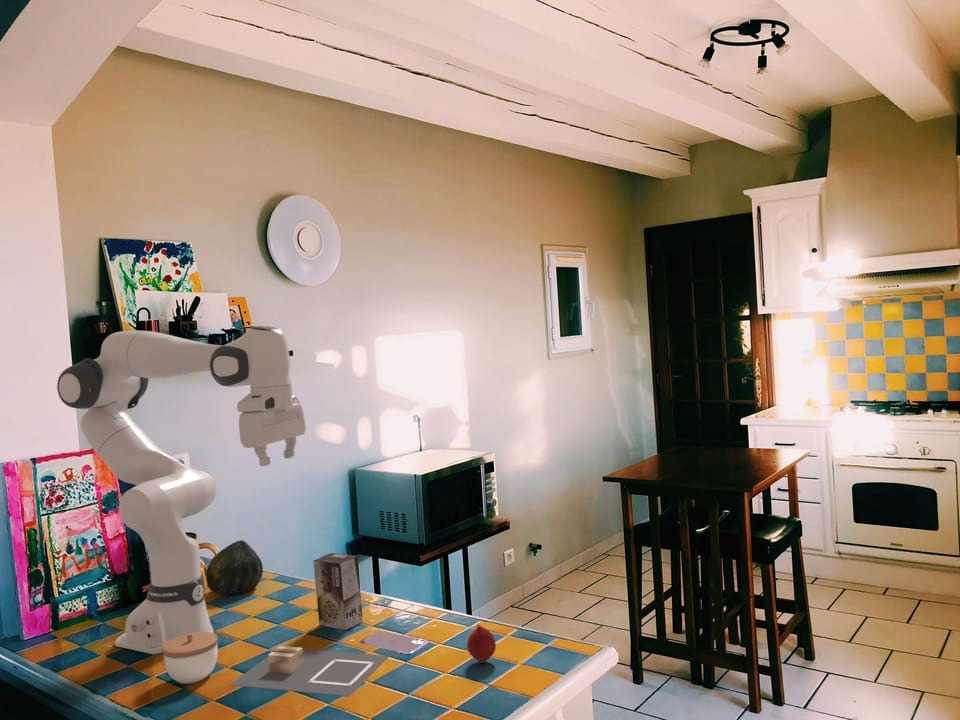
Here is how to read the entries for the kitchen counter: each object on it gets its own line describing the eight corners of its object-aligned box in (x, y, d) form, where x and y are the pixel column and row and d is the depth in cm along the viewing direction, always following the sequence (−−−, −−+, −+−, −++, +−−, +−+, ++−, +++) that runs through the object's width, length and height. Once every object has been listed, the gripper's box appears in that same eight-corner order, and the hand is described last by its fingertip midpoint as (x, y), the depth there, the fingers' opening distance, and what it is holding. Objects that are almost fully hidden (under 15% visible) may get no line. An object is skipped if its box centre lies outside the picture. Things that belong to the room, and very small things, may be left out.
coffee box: (364, 621, 181) (359, 555, 181) (345, 631, 176) (340, 563, 176) (336, 616, 186) (331, 551, 186) (317, 625, 181) (312, 559, 180)
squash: (192, 574, 212) (209, 538, 206) (239, 561, 224) (256, 527, 217) (213, 614, 206) (232, 579, 199) (261, 599, 217) (279, 565, 210)
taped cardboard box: (269, 671, 156) (267, 654, 156) (281, 662, 160) (280, 645, 160) (292, 673, 154) (290, 655, 154) (303, 664, 158) (302, 646, 158)
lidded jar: (189, 694, 149) (185, 648, 149) (154, 685, 154) (150, 640, 154) (231, 671, 158) (227, 627, 158) (196, 663, 164) (193, 621, 163)
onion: (500, 657, 156) (497, 619, 156) (491, 669, 150) (489, 630, 150) (474, 655, 158) (471, 617, 157) (464, 667, 152) (461, 628, 152)
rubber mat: (229, 686, 151) (229, 684, 151) (280, 649, 168) (280, 647, 168) (349, 698, 142) (349, 695, 142) (389, 657, 160) (389, 655, 160)
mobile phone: (376, 629, 174) (430, 638, 166) (377, 633, 174) (430, 643, 166) (355, 642, 167) (410, 652, 160) (355, 646, 168) (410, 657, 160)
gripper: (286, 395, 176) (290, 453, 176) (231, 404, 157) (237, 470, 157) (309, 394, 174) (314, 453, 175) (257, 403, 155) (263, 470, 155)
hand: (277, 461), depth 166 cm, fingers open, 8 cm apart
